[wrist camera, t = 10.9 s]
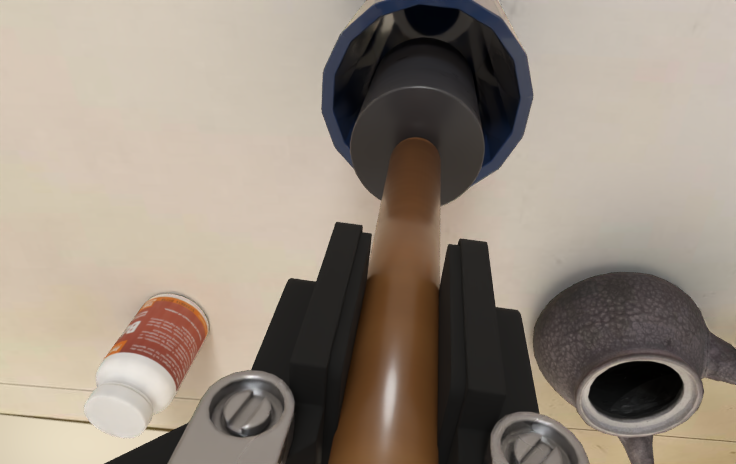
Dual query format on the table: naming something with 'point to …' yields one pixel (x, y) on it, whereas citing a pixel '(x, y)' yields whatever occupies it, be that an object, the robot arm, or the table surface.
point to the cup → (447, 23)
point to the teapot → (630, 356)
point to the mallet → (406, 247)
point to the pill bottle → (146, 365)
